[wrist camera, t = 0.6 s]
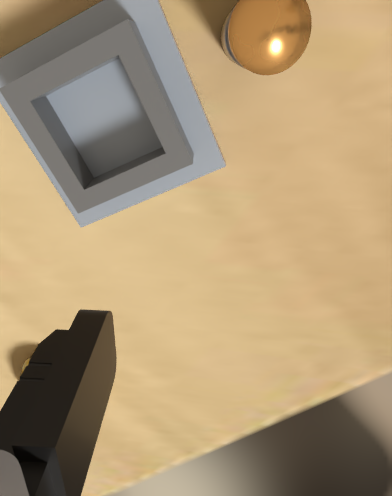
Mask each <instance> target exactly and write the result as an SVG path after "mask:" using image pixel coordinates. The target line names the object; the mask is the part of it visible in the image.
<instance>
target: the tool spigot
mask: <svg viewBox="0 0 392 496" xmlns="http://www.w3.org/2000/svg"><path fill="white" fill-rule="evenodd" d="M310 33H311V14H310V10H309V6H308V4H307V2H306V0H239V2H238V3H237V4H236V5H235V7H234V8H233V9H232V11H231V12H230V13H229V15H228V16H227V17H226V19H225V21H224V23H223V26H222V30H221V43H222V47H223V50H224V52H225V54H226V55H227V57H228V58H229V59H230V60H231V61H232V62H234V63H236V64H237V65H239V66H241V67H243V68H245V69H247V70H249V71H251V72H253V73H256V74H260V75H273V74H277V73H280V72H283V71H284V70H286V69H288V68H289V67H291V66H292V65H293V64H294V63H295V62H296V61H297V60H298V59H299V58H300V57H301V55H302V54H303V52H304V50H305V48H306V46H307V44H308V41H309V38H310Z"/></svg>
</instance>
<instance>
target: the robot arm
mask: <svg viewBox="0 0 392 496" xmlns="http://www.w3.org/2000/svg"><path fill="white" fill-rule="evenodd" d="M115 372H116V347H115V336H114V325H113V316H112V312H111V311H100V310H79V312H78V313H77V315H76V317H75V319H74V321H73V323H72V325H71V327H70V329H69V330H55V331H54V332H53V333H51V334H50V335H49V336H48V337H47V338H46V339H44V340H43V341H42V342H41V343H40V344H39V345H38V347H37V348H36V350H35V352H34V353H33V355H32V357H31V359H30V360H29V364H28V366H26V367H25V369H24V371H23V373H22V374H21V376H20V380H19V381H17V383H16V385H15V386H14V388H13V390H12V392H11V393H10V395H9V397H8V399H7V400H6V402H5V404H4V406H3V407H2V409H1V411H0V496H81V493H82V489H83V486H84V482H85V479H86V476H87V472H88V469H89V465H90V462H91V458H92V455H93V451H94V448H95V444H96V441H97V438H98V434H99V431H100V427H101V424H102V420H103V417H104V413H105V410H106V406H107V403H108V400H109V396H110V393H111V389H112V386H113V382H114V378H115Z"/></svg>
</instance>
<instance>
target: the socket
mask: <svg viewBox="0 0 392 496" xmlns="http://www.w3.org/2000/svg"><path fill="white" fill-rule="evenodd" d="M0 103H1V104H2V106H3V107H4V109H5V111H6V112H7V114H8V115H9V117H10V118H11V120H12V121H13V123H14V125H15V126H16V128H17V129H18V131H19V132H20V134H21V135H22V137H23V138H24V140H25V142H26V143H27V145H28V146H29V148H30V149H31V151H32V152H33V154H34V156H35V157H36V159H37V160H38V162H39V163H40V165H41V166H42V168H43V169H44V171H45V173H46V174H47V176H48V177H49V179H50V180H51V182H52V183H53V185H54V187H55V188H56V190H57V191H58V193H59V194H60V196H61V197H62V199H63V200H64V202H65V204H66V205H67V207H68V208H69V210H70V211H71V213H72V214H73V216H74V218H75V219H76V221H77V222H78V224H79V225H80V227H84V226H86V225H88V224H91V223H93V222H95V221H98V220H100V219H103V218H105V217H107V216H110V215H112V214H114V213H117V212H119V211H121V210H124V209H126V208H128V207H131V206H133V205H136V204H138V203H140V202H143V201H145V200H147V199H150V198H152V197H154V196H157V195H159V194H162V193H164V192H166V191H169V190H171V189H173V188H176V187H178V186H180V185H183V184H185V183H187V182H190V181H192V180H195V179H197V178H199V177H202V176H204V175H206V174H209V173H211V172H213V171H216V170H218V169H221V168H223V167H225V166H226V164H225V161H224V158H223V156H222V153H221V151H220V149H219V146H218V144H217V141H216V139H215V136H214V134H213V132H212V129H211V127H210V124H209V122H208V119H207V117H206V114H205V112H204V110H203V107H202V105H201V102H200V100H199V97H198V95H197V93H196V90H195V88H194V85H193V83H192V80H191V78H190V75H189V73H188V71H187V68H186V66H185V63H184V61H183V58H182V56H181V54H180V51H179V49H178V46H177V44H176V41H175V39H174V36H173V34H172V32H171V29H170V27H169V24H168V22H167V19H166V17H165V15H164V12H163V10H162V7H161V5H160V2H159V0H103V1H101V2H99V3H97V4H96V5H94V6H92V7H90V8H89V9H87V10H85V11H83V12H81V13H80V14H78V15H76V16H74V17H73V18H71V19H69V20H67V21H65V22H64V23H62V24H60V25H58V26H57V27H55V28H53V29H51V30H49V31H48V32H46V33H44V34H42V35H41V36H39V37H37V38H35V39H33V40H32V41H30V42H28V43H26V44H25V45H23V46H21V47H19V48H18V49H16V50H14V51H12V52H10V53H9V54H7V55H5V56H3V57H2V58H0Z"/></svg>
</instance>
